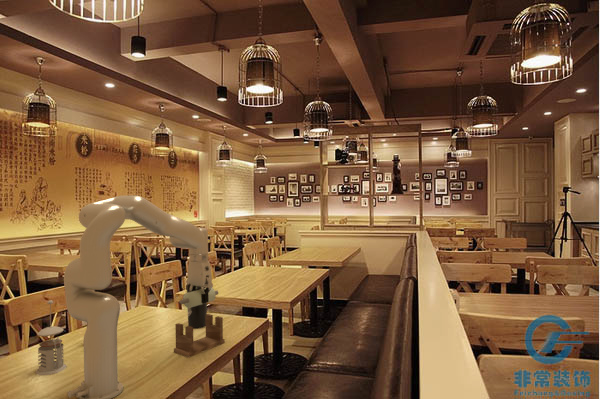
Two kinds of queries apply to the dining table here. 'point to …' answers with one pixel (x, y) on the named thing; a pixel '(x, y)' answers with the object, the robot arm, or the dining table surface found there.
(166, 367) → the dining table surface
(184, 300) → the roll
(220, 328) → the holder
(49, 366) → the french press
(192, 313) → the water bottle
